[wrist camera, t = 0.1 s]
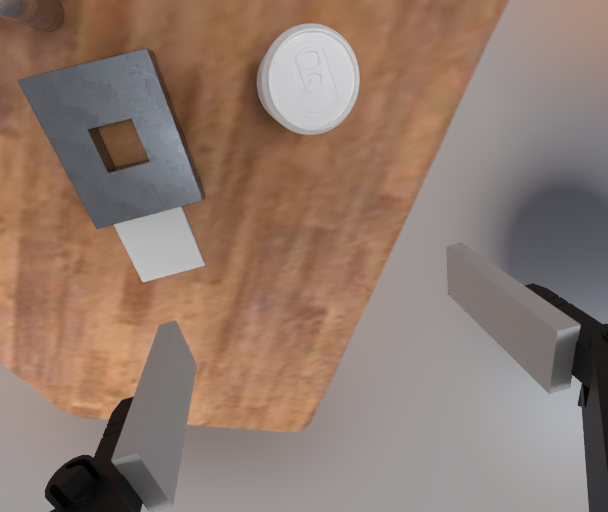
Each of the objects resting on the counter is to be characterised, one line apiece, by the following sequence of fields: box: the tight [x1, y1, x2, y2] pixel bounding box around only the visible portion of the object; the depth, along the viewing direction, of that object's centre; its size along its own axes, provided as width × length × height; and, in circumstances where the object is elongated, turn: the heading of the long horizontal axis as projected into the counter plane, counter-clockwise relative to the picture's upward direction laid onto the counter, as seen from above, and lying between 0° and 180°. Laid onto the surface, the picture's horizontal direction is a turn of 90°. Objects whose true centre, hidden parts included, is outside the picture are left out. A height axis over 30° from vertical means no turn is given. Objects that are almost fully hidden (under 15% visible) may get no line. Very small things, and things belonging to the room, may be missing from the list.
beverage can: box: [257, 23, 360, 135], centre depth 33 cm, size 8×8×12 cm
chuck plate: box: [17, 49, 205, 229], centre depth 37 cm, size 15×12×2 cm
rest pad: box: [114, 206, 205, 282], centre depth 43 cm, size 8×8×1 cm
